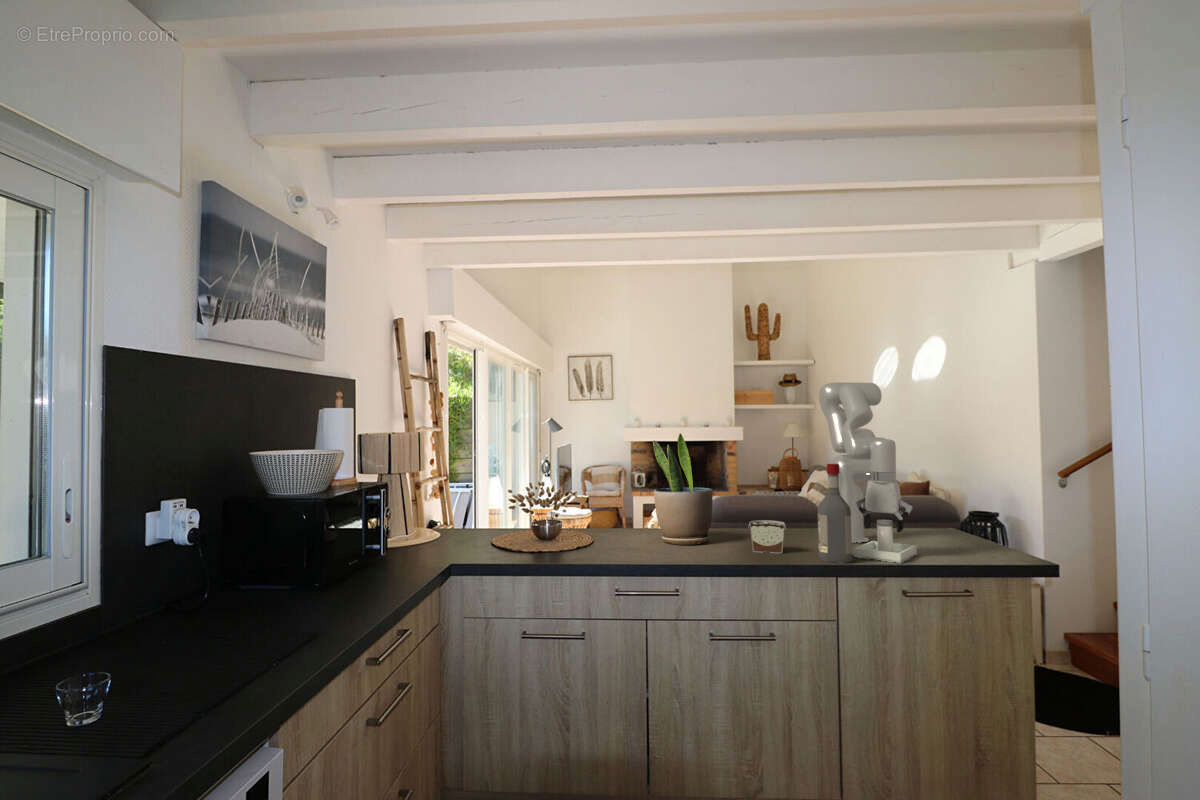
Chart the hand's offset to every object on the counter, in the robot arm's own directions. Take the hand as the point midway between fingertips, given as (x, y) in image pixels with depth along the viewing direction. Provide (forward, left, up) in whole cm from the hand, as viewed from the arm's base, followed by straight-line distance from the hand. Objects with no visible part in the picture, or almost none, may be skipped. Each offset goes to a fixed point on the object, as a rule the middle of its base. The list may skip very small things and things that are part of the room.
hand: (883, 529), depth 203 cm
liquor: (-9, -18, -9) cm, 22 cm away
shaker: (+1, -1, -8) cm, 8 cm away
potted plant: (-64, -20, -9) cm, 68 cm away
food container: (-32, -17, -9) cm, 37 cm away
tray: (+1, -1, -8) cm, 8 cm away
